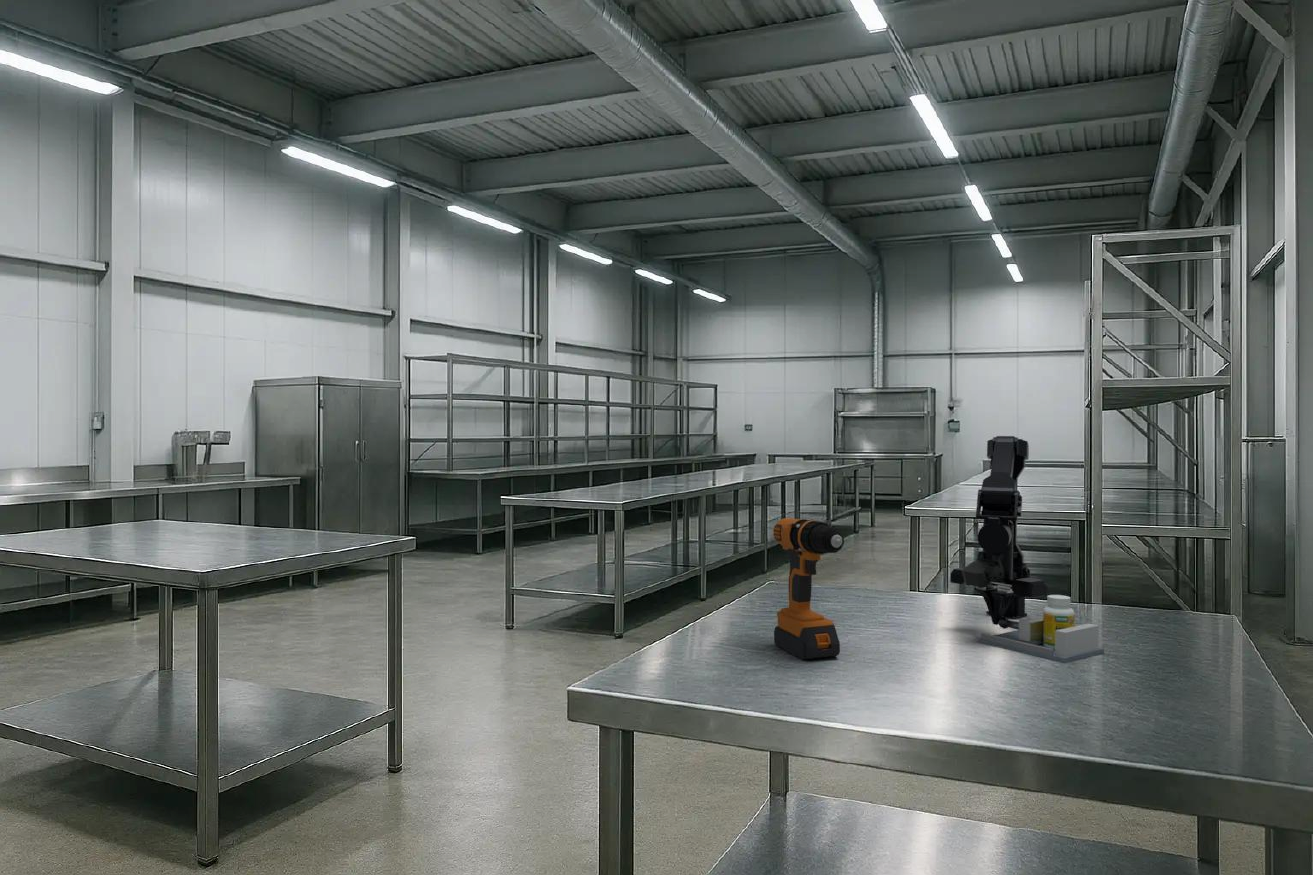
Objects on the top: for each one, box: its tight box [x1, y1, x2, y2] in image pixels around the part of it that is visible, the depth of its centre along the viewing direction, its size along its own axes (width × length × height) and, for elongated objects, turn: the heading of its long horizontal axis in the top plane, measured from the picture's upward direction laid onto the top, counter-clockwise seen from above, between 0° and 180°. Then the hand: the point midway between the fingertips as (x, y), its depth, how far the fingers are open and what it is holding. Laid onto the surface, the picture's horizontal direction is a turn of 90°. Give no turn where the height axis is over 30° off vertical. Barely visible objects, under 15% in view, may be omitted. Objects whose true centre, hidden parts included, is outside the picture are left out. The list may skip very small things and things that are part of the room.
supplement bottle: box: [1042, 594, 1076, 650], centre depth 166 cm, size 5×5×10 cm
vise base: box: [977, 623, 1105, 664], centre depth 169 cm, size 18×13×5 cm
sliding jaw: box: [998, 615, 1044, 645], centre depth 173 cm, size 10×10×4 cm
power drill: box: [773, 517, 845, 661], centre depth 163 cm, size 22×7×25 cm, turn 18°
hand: (996, 624), depth 177 cm, fingers closed
